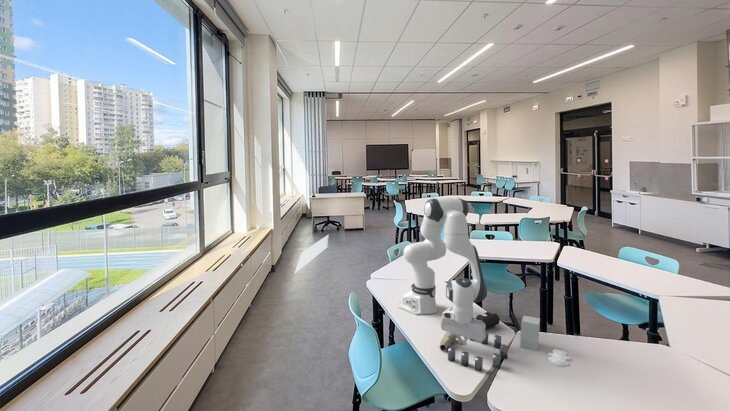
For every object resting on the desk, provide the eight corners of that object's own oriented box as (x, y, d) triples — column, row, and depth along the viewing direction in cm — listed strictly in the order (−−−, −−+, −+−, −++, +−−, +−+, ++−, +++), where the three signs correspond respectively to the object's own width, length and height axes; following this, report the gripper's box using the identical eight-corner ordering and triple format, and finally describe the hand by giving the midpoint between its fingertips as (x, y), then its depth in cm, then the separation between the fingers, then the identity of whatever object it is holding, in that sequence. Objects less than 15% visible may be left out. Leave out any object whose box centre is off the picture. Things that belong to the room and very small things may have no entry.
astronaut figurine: (572, 356, 166) (573, 350, 165) (567, 369, 156) (567, 362, 156) (550, 350, 171) (551, 344, 171) (544, 362, 162) (544, 356, 161)
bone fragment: (445, 336, 184) (446, 327, 183) (458, 340, 180) (458, 331, 180) (433, 349, 173) (434, 340, 172) (447, 353, 169) (447, 344, 169)
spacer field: (446, 360, 164) (447, 349, 163) (470, 336, 183) (470, 327, 182) (492, 376, 152) (493, 365, 151) (513, 350, 171) (513, 339, 170)
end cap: (486, 333, 187) (486, 320, 186) (475, 327, 193) (475, 315, 192) (499, 327, 192) (500, 315, 191) (488, 322, 198) (488, 310, 197)
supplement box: (537, 351, 170) (538, 324, 168) (519, 347, 173) (520, 321, 171) (538, 343, 176) (540, 318, 174) (521, 340, 180) (522, 314, 178)
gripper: (488, 319, 166) (487, 348, 168) (445, 307, 179) (445, 335, 181) (482, 324, 161) (481, 354, 163) (439, 312, 174) (438, 340, 176)
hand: (462, 344), depth 172 cm, fingers closed
